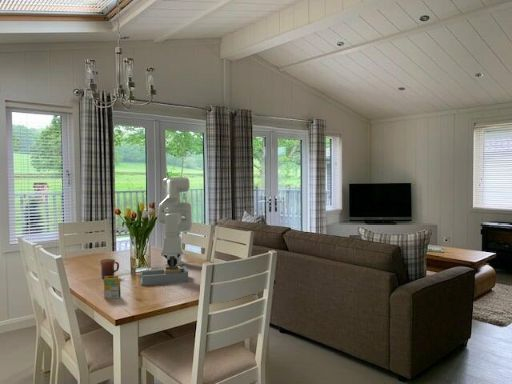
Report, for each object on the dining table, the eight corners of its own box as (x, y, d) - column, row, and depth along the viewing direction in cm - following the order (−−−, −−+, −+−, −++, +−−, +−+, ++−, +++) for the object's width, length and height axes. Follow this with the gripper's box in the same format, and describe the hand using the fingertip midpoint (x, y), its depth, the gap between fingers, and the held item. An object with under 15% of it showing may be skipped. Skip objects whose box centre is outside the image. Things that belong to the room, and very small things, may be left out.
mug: (97, 278, 237) (96, 261, 236) (106, 274, 245) (105, 258, 245) (114, 279, 234) (114, 262, 233) (123, 276, 242) (122, 259, 241)
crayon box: (120, 296, 202) (120, 274, 201) (118, 298, 199) (118, 275, 198) (106, 297, 202) (105, 274, 201) (104, 298, 199) (103, 276, 198)
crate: (164, 276, 236) (163, 255, 235) (179, 275, 238) (179, 254, 238) (164, 280, 227) (164, 258, 227) (180, 278, 230) (180, 257, 229)
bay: (141, 279, 234) (141, 269, 234) (185, 276, 242) (185, 266, 241) (141, 285, 222) (141, 274, 222) (188, 281, 229) (188, 271, 229)
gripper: (185, 232, 237) (185, 263, 238) (157, 234, 233) (157, 265, 234) (186, 234, 230) (186, 266, 231) (157, 236, 226) (158, 268, 227)
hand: (172, 265), depth 232 cm, fingers closed on crate, 2 cm apart
